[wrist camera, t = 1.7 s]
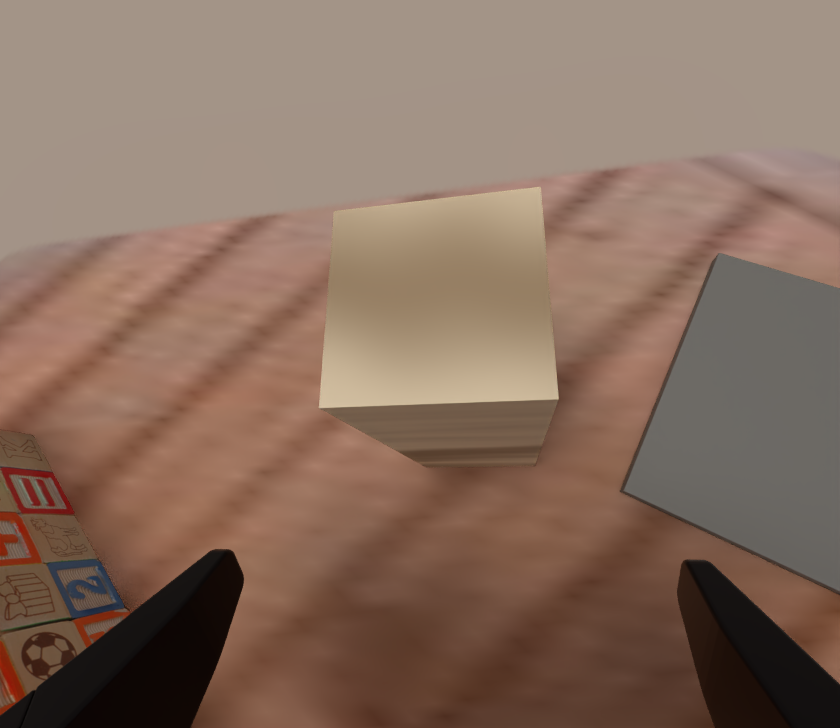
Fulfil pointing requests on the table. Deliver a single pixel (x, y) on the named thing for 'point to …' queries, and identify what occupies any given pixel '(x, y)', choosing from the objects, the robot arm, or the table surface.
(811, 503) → the charcoal board
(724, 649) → the robot arm
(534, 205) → the birch block
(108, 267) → the table surface
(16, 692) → the stack of blocks
